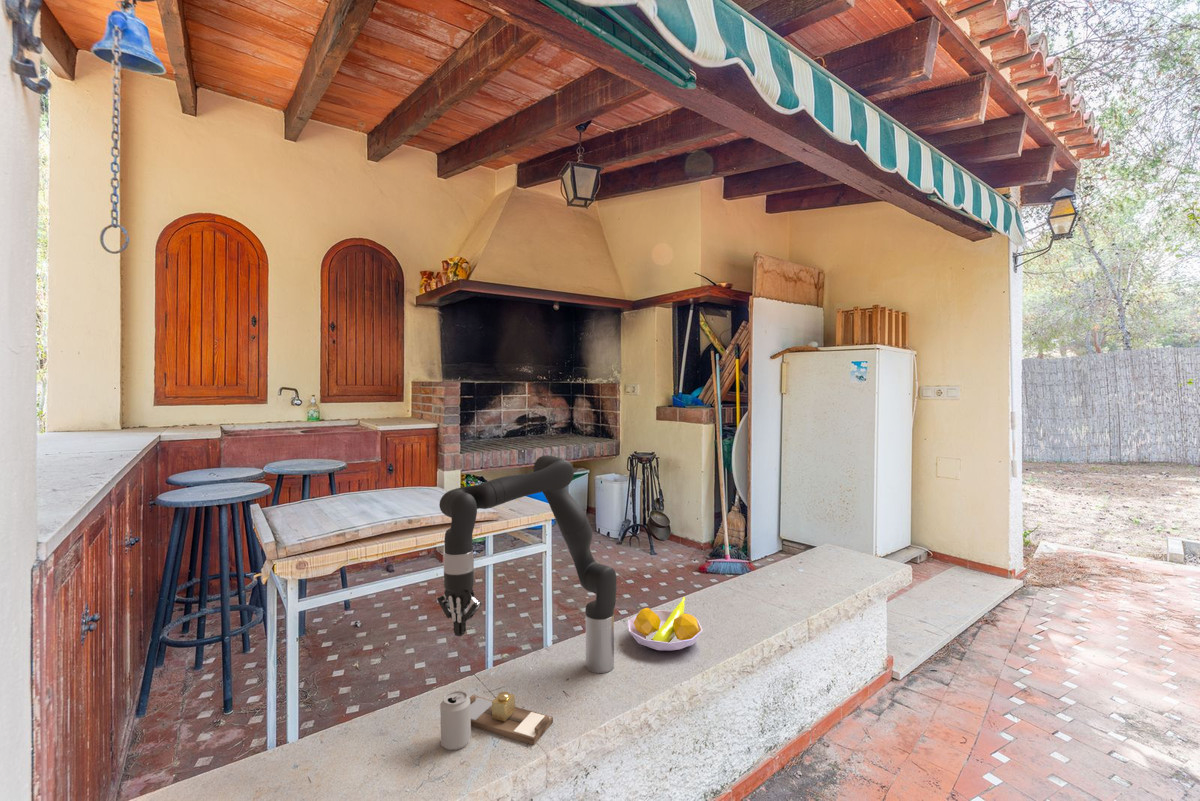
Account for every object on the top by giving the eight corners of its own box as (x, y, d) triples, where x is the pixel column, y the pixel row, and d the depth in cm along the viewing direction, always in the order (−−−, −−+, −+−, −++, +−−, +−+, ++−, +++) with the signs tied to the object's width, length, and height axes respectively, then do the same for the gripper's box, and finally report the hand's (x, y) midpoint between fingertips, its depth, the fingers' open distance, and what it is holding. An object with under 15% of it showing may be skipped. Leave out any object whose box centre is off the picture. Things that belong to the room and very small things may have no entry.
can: (435, 742, 137) (434, 696, 137) (461, 729, 142) (460, 684, 142) (449, 756, 132) (449, 708, 131) (476, 742, 137) (476, 696, 137)
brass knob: (502, 707, 148) (502, 688, 148) (514, 711, 147) (514, 691, 147) (492, 718, 144) (491, 697, 144) (504, 721, 142) (504, 701, 142)
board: (477, 701, 155) (476, 691, 155) (553, 722, 145) (552, 711, 145) (454, 721, 146) (454, 710, 146) (534, 744, 136) (534, 733, 136)
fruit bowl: (664, 668, 173) (663, 633, 172) (612, 637, 195) (612, 606, 194) (722, 643, 189) (722, 612, 189) (669, 617, 211) (668, 589, 211)
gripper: (488, 567, 139) (489, 633, 139) (447, 561, 144) (448, 624, 144) (470, 576, 132) (471, 646, 132) (428, 569, 137) (429, 636, 137)
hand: (459, 634), depth 138 cm, fingers closed
